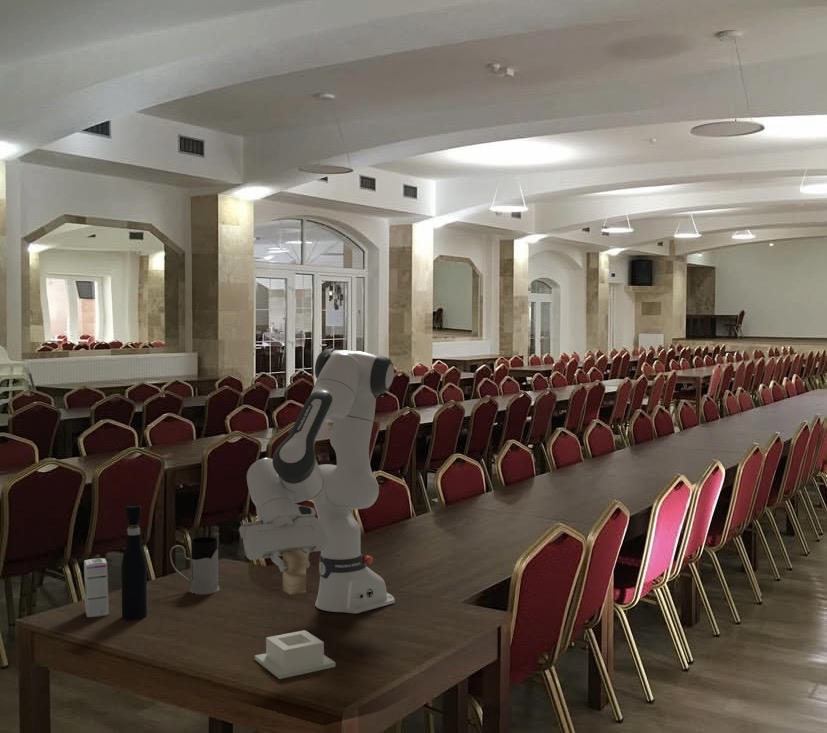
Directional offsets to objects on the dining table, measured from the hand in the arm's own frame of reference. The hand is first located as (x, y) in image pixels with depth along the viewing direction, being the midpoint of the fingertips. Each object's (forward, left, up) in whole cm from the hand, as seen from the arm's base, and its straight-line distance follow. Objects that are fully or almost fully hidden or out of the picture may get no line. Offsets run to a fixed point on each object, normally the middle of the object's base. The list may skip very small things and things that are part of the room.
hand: (295, 568), depth 214 cm
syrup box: (+30, -63, -23) cm, 73 cm away
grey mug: (0, -70, -23) cm, 73 cm away
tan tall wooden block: (0, -1, -5) cm, 5 cm away
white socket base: (0, -1, -22) cm, 22 cm away
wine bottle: (+22, -55, -23) cm, 63 cm away
